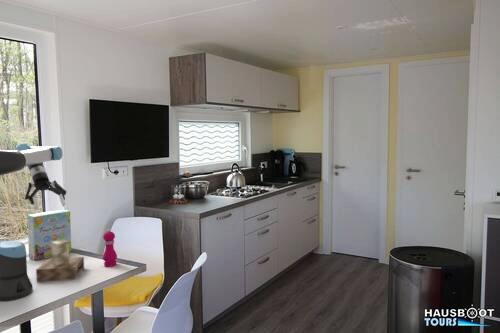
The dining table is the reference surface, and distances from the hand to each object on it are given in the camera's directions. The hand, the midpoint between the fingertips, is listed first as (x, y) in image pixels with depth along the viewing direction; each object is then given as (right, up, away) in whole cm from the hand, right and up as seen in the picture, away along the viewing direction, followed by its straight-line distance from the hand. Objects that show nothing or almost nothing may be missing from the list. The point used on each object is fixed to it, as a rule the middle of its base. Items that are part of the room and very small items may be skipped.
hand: (50, 206), depth 205 cm
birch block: (+9, -28, -6) cm, 30 cm away
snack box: (-13, -32, +27) cm, 43 cm away
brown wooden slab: (+9, -34, -6) cm, 36 cm away
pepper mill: (+29, -33, +8) cm, 44 cm away
